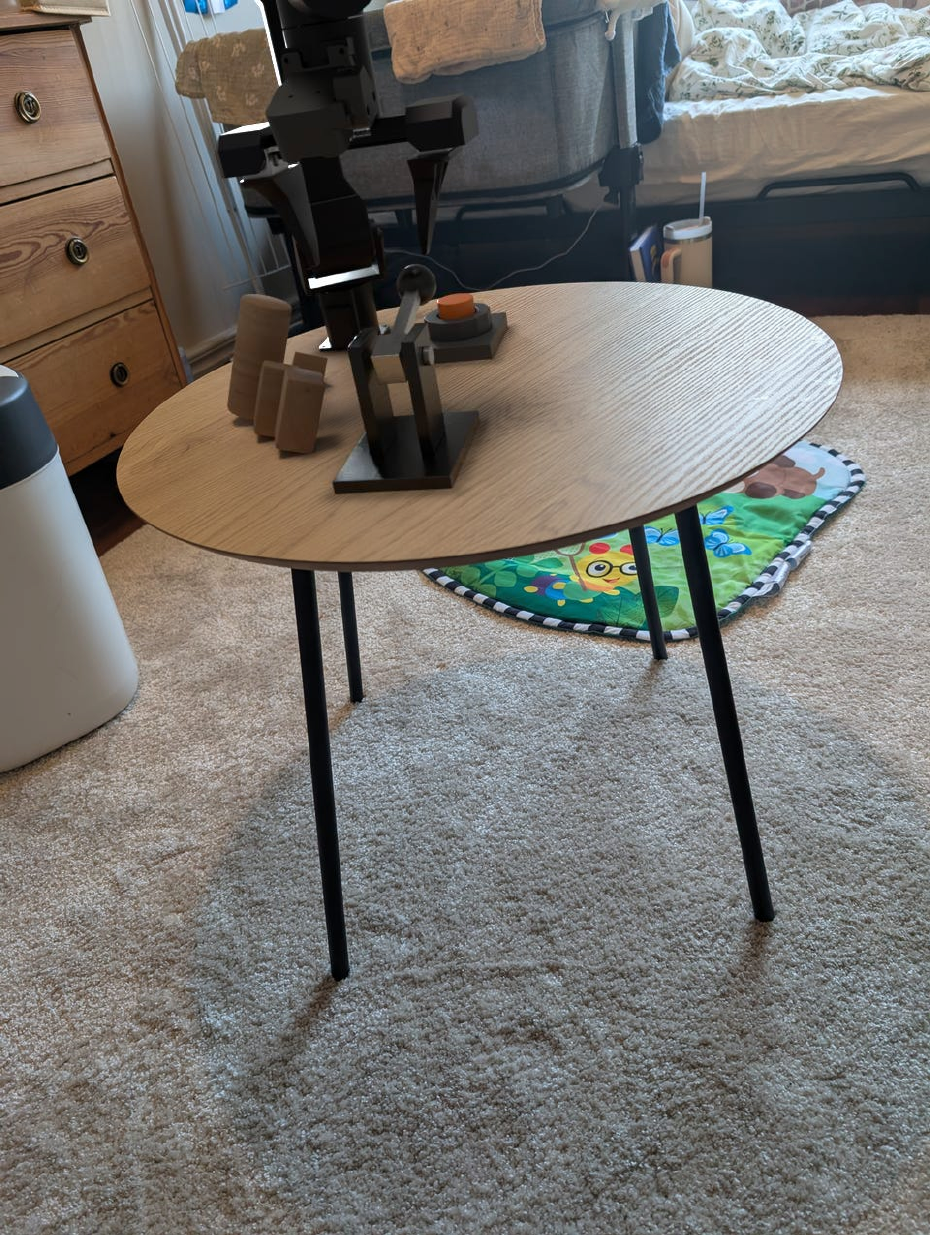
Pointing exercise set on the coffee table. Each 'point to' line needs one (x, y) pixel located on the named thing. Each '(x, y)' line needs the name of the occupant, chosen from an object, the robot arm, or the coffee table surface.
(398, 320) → the lever
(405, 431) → the bracket
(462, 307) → the button
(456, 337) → the switch block
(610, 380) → the coffee table surface
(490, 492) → the coffee table surface
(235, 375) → the wooden block set
